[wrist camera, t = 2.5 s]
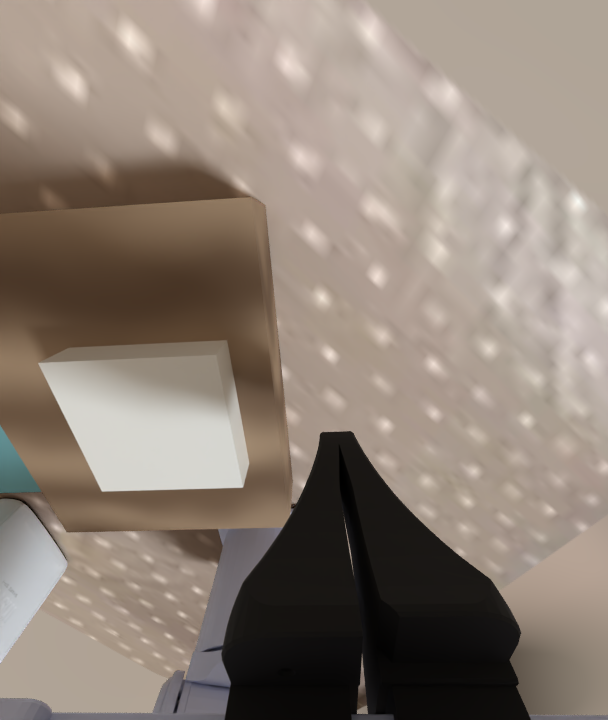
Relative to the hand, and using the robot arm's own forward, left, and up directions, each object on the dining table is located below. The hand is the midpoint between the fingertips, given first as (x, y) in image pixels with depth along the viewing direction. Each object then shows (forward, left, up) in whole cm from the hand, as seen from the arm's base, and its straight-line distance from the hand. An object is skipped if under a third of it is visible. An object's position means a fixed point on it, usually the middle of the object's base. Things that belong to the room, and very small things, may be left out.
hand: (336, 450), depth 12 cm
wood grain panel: (0, +11, -8) cm, 13 cm away
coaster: (0, +9, -4) cm, 10 cm away
